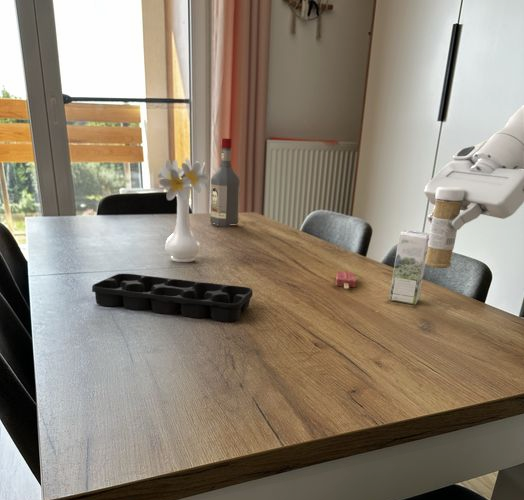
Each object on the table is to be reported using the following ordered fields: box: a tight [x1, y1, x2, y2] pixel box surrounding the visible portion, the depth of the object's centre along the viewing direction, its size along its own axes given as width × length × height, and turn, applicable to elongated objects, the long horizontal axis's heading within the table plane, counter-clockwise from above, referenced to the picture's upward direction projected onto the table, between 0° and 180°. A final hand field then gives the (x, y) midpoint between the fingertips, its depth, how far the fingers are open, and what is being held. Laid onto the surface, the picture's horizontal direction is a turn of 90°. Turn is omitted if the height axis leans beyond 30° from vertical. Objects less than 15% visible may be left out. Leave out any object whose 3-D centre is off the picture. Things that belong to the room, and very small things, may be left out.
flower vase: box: [157, 157, 211, 263], centre depth 130 cm, size 13×18×25 cm
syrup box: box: [388, 229, 430, 305], centre depth 109 cm, size 6×6×14 cm
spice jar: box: [425, 187, 465, 269], centre depth 89 cm, size 5×5×14 cm
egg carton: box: [91, 273, 254, 323], centre depth 98 cm, size 18×30×4 cm, turn 89°
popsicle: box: [335, 270, 357, 290], centre depth 121 cm, size 4×2×15 cm
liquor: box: [209, 137, 241, 228], centre depth 187 cm, size 9×9×30 cm
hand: (441, 223), depth 89 cm, fingers closed on spice jar, 4 cm apart
